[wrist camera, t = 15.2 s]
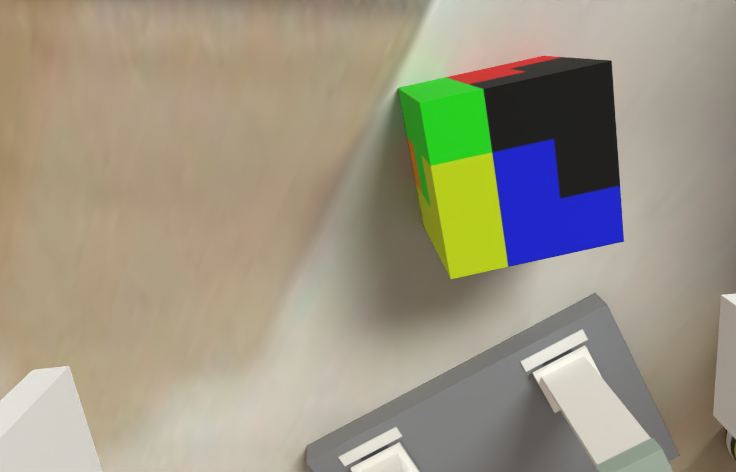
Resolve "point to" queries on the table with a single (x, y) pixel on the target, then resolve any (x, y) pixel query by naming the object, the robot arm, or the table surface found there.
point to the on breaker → (599, 416)
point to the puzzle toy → (516, 162)
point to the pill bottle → (731, 445)
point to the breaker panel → (500, 406)
